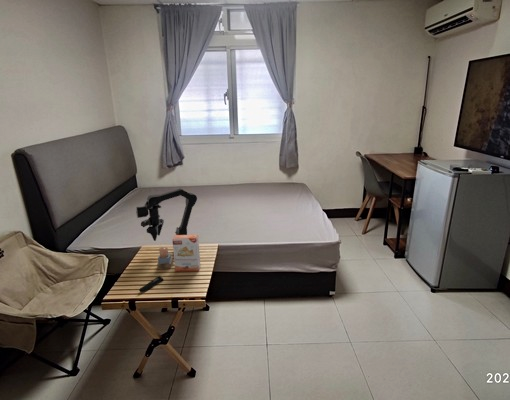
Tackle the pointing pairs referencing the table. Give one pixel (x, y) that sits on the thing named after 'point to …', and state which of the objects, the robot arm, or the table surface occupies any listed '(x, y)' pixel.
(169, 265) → the tower base
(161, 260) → the tower middle
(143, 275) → the table surface
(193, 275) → the table surface
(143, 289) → the electric trimmer
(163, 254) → the terracotta cylinder
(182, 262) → the cracker box
